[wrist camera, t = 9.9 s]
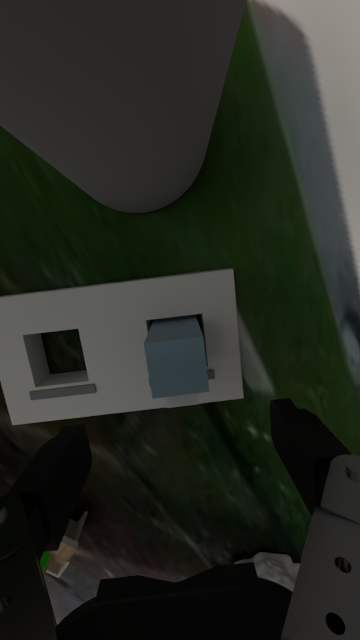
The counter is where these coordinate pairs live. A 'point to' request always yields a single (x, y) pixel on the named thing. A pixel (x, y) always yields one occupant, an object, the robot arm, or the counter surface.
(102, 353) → the port panel
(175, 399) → the plug
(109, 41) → the cylinder vase
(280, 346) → the counter surface
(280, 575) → the rabbit
